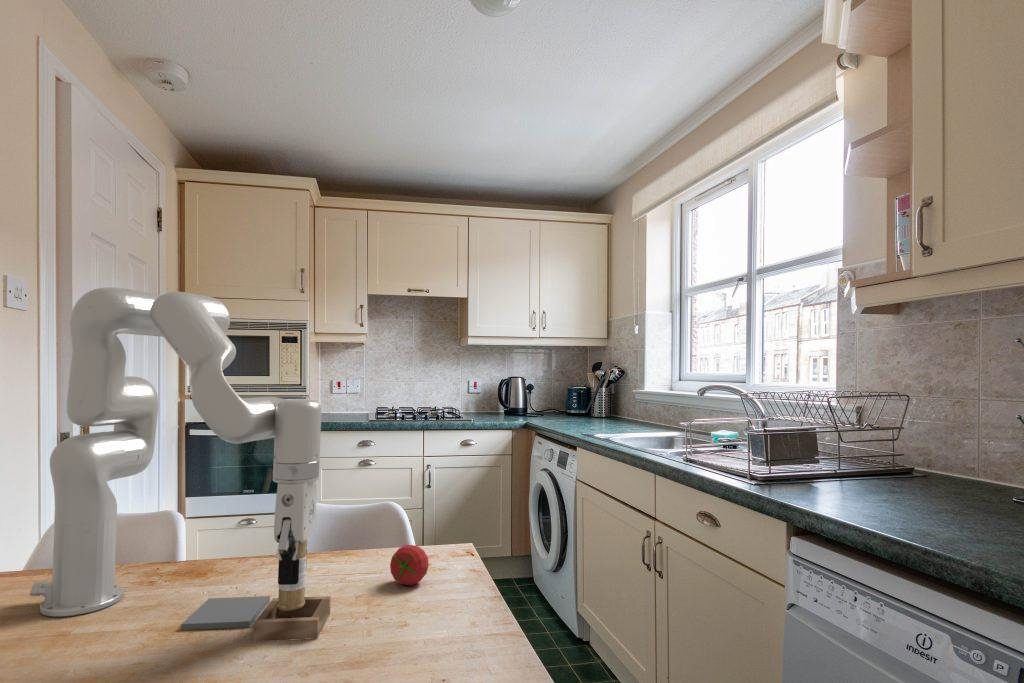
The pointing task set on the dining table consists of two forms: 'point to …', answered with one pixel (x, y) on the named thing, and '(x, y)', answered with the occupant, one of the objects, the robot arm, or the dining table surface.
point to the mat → (226, 613)
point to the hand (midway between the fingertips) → (292, 577)
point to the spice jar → (294, 594)
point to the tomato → (409, 565)
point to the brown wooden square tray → (292, 620)
